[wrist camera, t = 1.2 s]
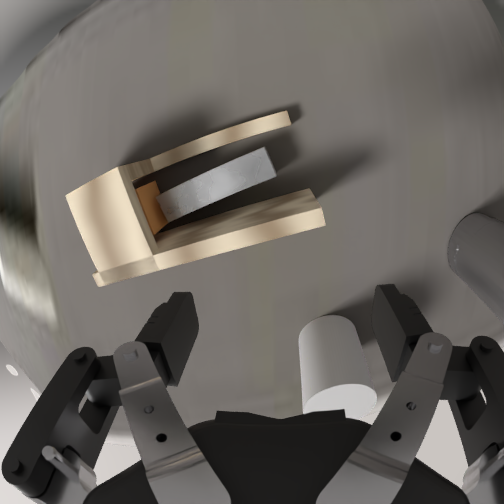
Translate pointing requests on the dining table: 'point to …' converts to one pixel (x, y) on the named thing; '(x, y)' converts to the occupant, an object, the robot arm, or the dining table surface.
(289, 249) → the dining table surface
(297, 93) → the dining table surface
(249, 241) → the bridge channel
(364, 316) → the dining table surface
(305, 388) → the cup
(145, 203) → the block
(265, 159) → the grey long rectangular bar
